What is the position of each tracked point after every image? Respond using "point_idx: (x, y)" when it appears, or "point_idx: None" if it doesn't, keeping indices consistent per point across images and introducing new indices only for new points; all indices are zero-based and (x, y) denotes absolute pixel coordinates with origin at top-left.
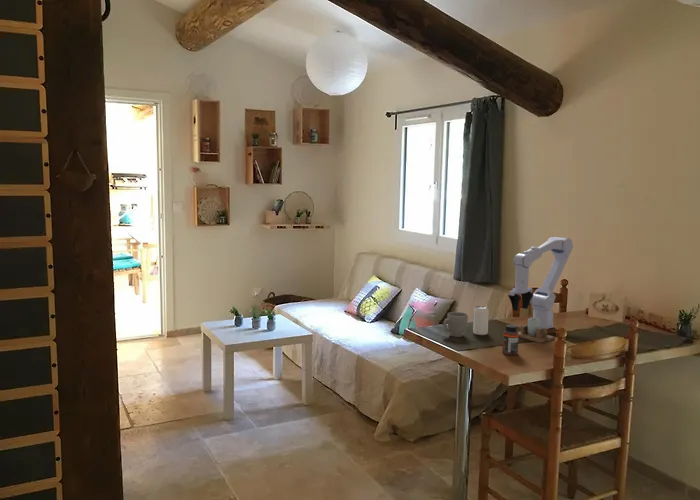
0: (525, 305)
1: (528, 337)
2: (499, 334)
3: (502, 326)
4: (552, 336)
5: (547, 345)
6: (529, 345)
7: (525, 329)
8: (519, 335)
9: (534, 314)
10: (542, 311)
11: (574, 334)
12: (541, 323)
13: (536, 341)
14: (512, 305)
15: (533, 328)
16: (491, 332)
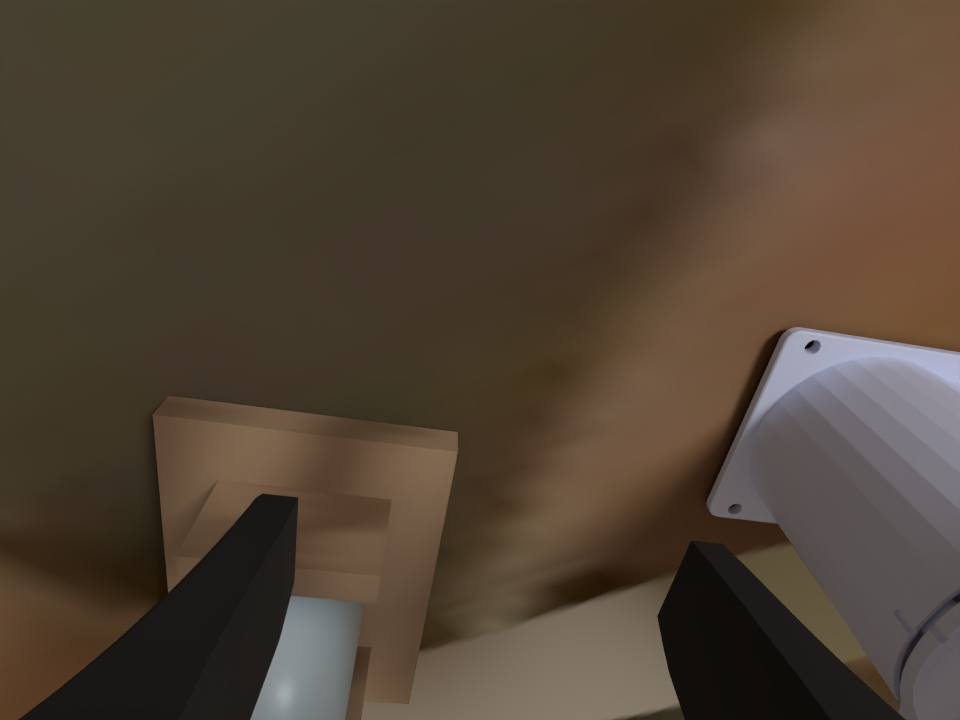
0: (696, 663)
1: (168, 584)
2: (55, 238)
3: (553, 7)
4: (401, 696)
5: None
6: (12, 639)
7: None
8: (163, 488)
9: (886, 511)
10: (887, 679)
11: None
12: (780, 522)
13: None
14: (186, 595)
15: None
16: (26, 80)
